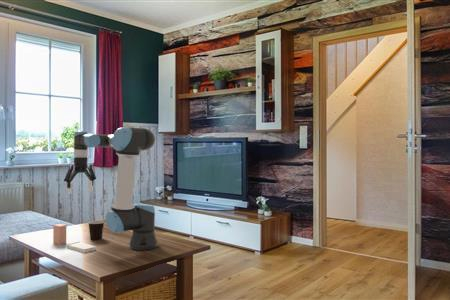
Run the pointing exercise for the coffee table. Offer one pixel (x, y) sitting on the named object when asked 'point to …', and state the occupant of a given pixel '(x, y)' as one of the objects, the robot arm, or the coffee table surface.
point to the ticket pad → (81, 247)
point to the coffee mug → (96, 230)
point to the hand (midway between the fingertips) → (80, 192)
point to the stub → (59, 234)
